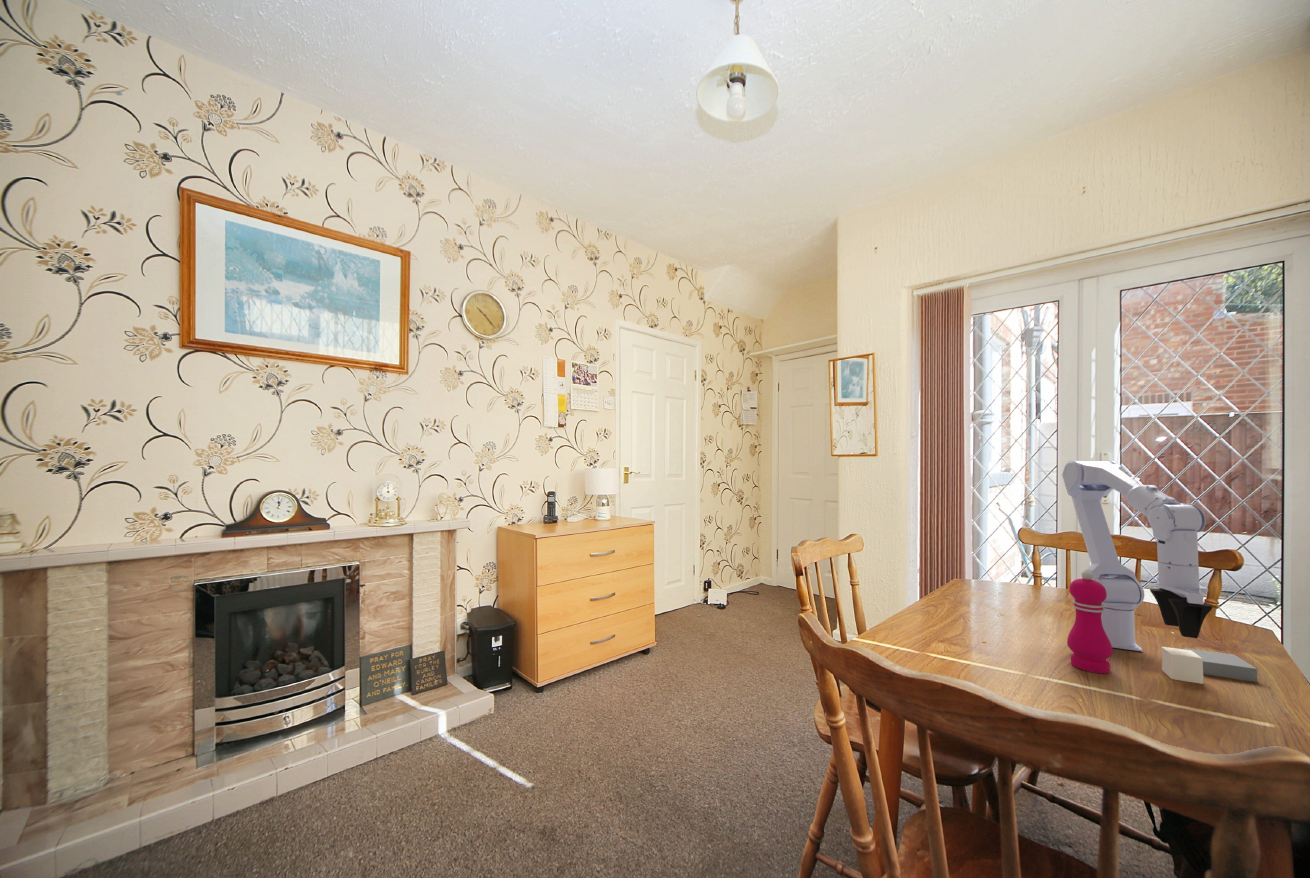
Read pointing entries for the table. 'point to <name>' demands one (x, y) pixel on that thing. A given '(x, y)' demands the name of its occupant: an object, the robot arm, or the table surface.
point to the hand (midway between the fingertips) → (1180, 631)
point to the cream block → (1182, 665)
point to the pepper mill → (1089, 626)
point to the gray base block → (1226, 665)
